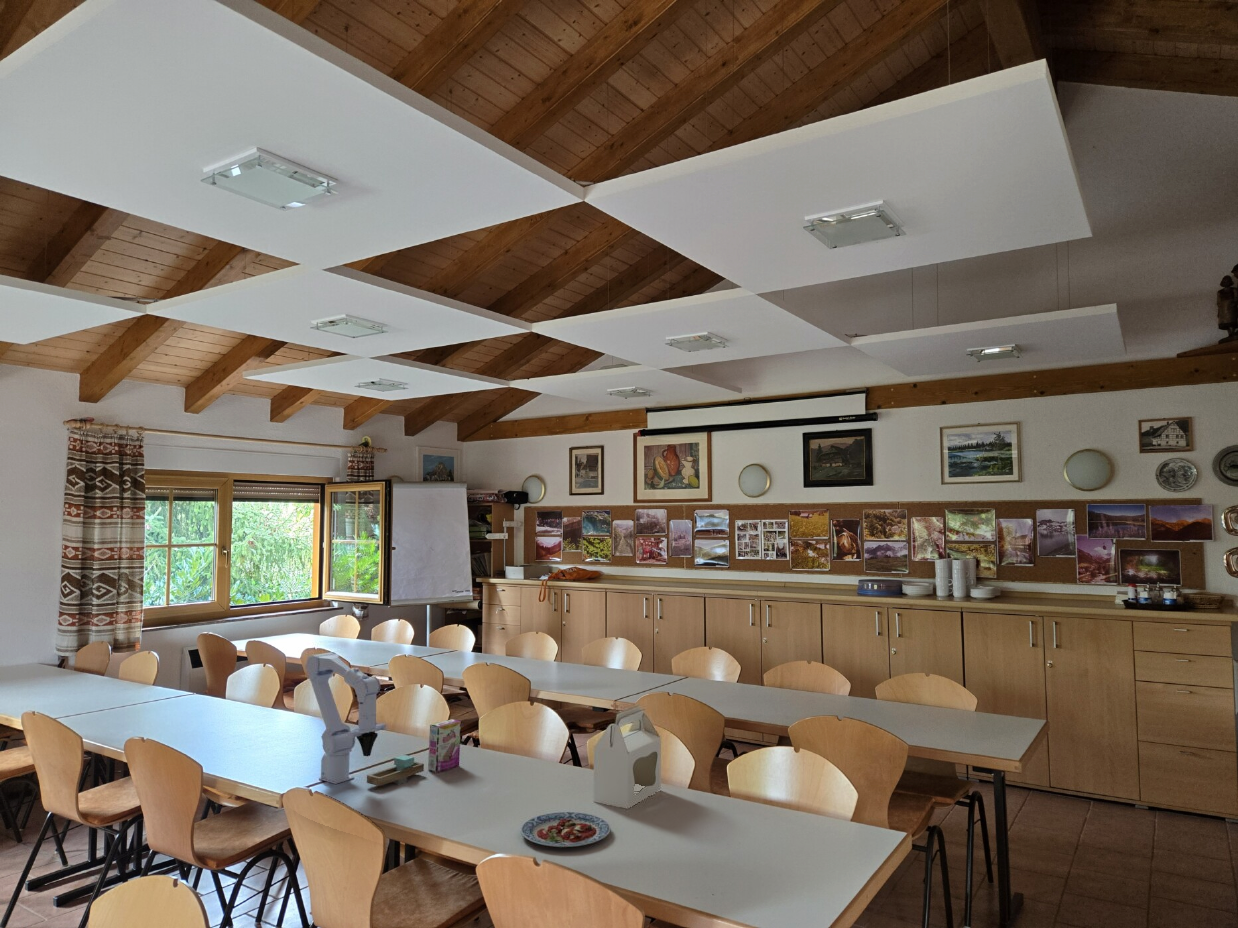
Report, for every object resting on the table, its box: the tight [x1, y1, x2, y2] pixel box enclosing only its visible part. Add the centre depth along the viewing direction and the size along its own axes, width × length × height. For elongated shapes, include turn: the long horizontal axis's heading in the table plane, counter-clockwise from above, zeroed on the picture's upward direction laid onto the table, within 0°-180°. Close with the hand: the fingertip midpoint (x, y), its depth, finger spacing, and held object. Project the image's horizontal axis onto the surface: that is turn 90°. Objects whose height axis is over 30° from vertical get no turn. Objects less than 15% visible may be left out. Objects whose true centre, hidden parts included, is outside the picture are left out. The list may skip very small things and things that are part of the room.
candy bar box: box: [427, 718, 462, 774], centre depth 293 cm, size 11×5×16 cm, turn 144°
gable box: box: [592, 704, 662, 810], centre depth 266 cm, size 22×13×28 cm, turn 149°
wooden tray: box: [366, 761, 425, 787], centre depth 278 cm, size 7×20×4 cm, turn 147°
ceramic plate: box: [520, 811, 611, 848], centre depth 232 cm, size 26×26×3 cm
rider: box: [393, 754, 415, 772], centre depth 281 cm, size 5×4×5 cm
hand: (366, 755), depth 272 cm, fingers closed
